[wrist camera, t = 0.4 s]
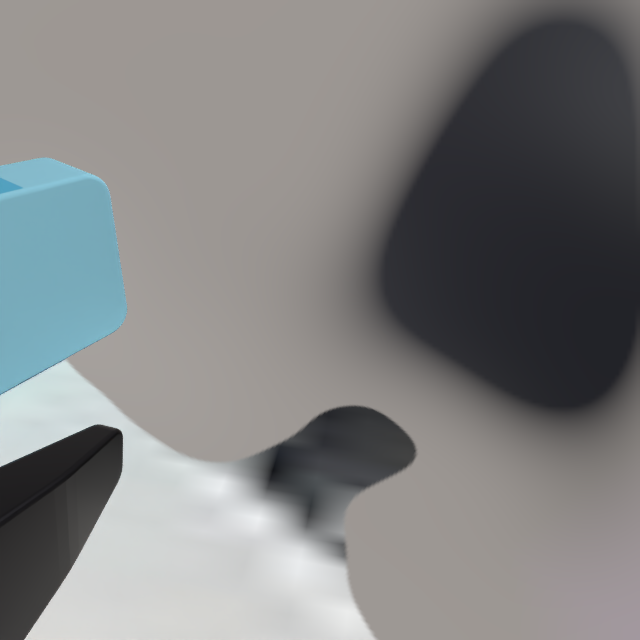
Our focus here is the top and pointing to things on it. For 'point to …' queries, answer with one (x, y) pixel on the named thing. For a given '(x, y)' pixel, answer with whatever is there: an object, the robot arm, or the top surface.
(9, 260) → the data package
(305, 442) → the top surface
